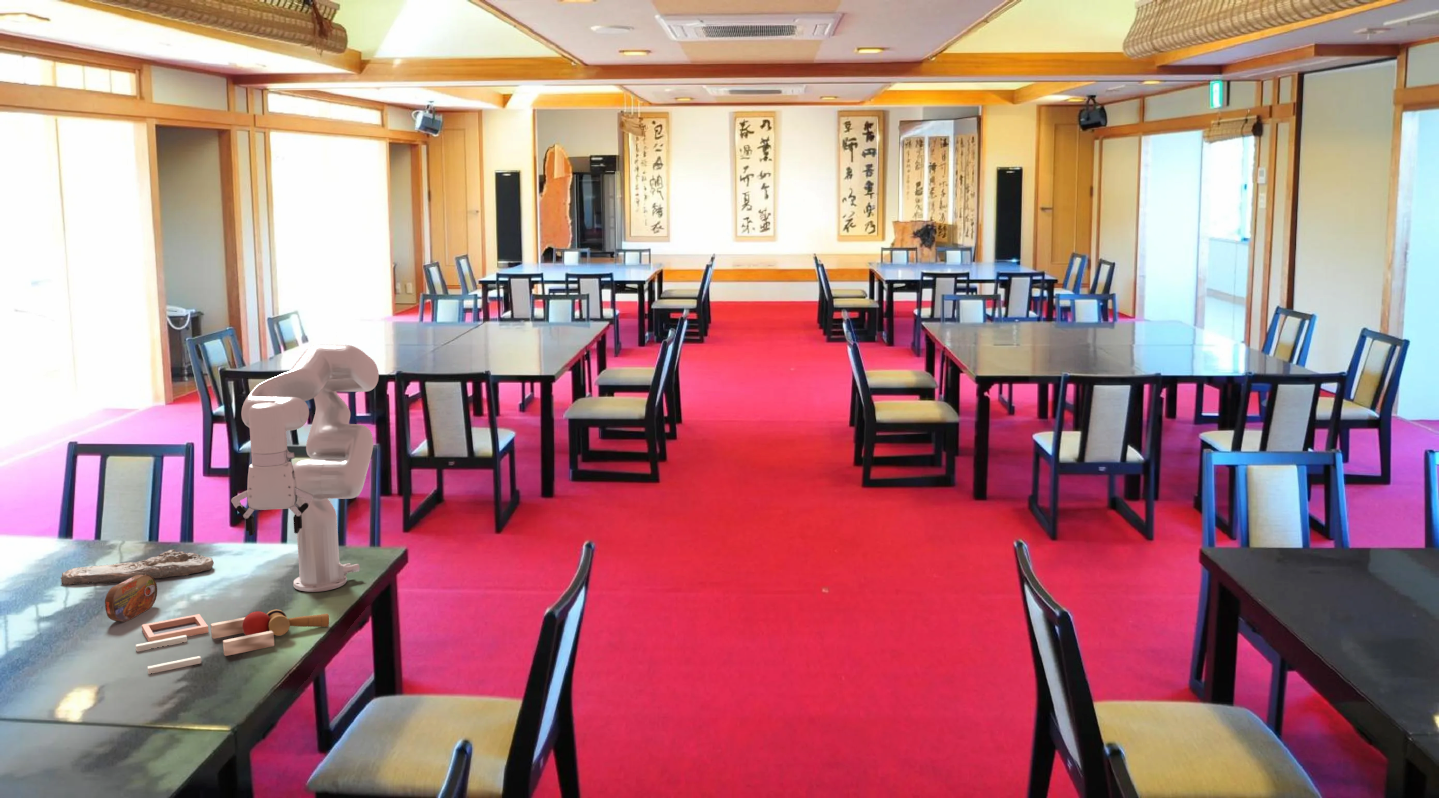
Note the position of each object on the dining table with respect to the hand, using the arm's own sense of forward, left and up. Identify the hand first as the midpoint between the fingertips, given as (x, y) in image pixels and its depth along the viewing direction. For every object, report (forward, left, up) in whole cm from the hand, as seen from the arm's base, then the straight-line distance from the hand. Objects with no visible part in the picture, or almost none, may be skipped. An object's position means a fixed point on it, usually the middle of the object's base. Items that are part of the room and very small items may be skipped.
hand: (274, 532), depth 270 cm
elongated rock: (+21, -52, -21) cm, 60 cm away
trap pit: (+21, -6, -21) cm, 30 cm away
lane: (+10, +8, -21) cm, 24 cm away
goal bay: (+25, +8, -21) cm, 34 cm away
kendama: (+1, +8, -21) cm, 23 cm away
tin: (+27, -23, -21) cm, 41 cm away
